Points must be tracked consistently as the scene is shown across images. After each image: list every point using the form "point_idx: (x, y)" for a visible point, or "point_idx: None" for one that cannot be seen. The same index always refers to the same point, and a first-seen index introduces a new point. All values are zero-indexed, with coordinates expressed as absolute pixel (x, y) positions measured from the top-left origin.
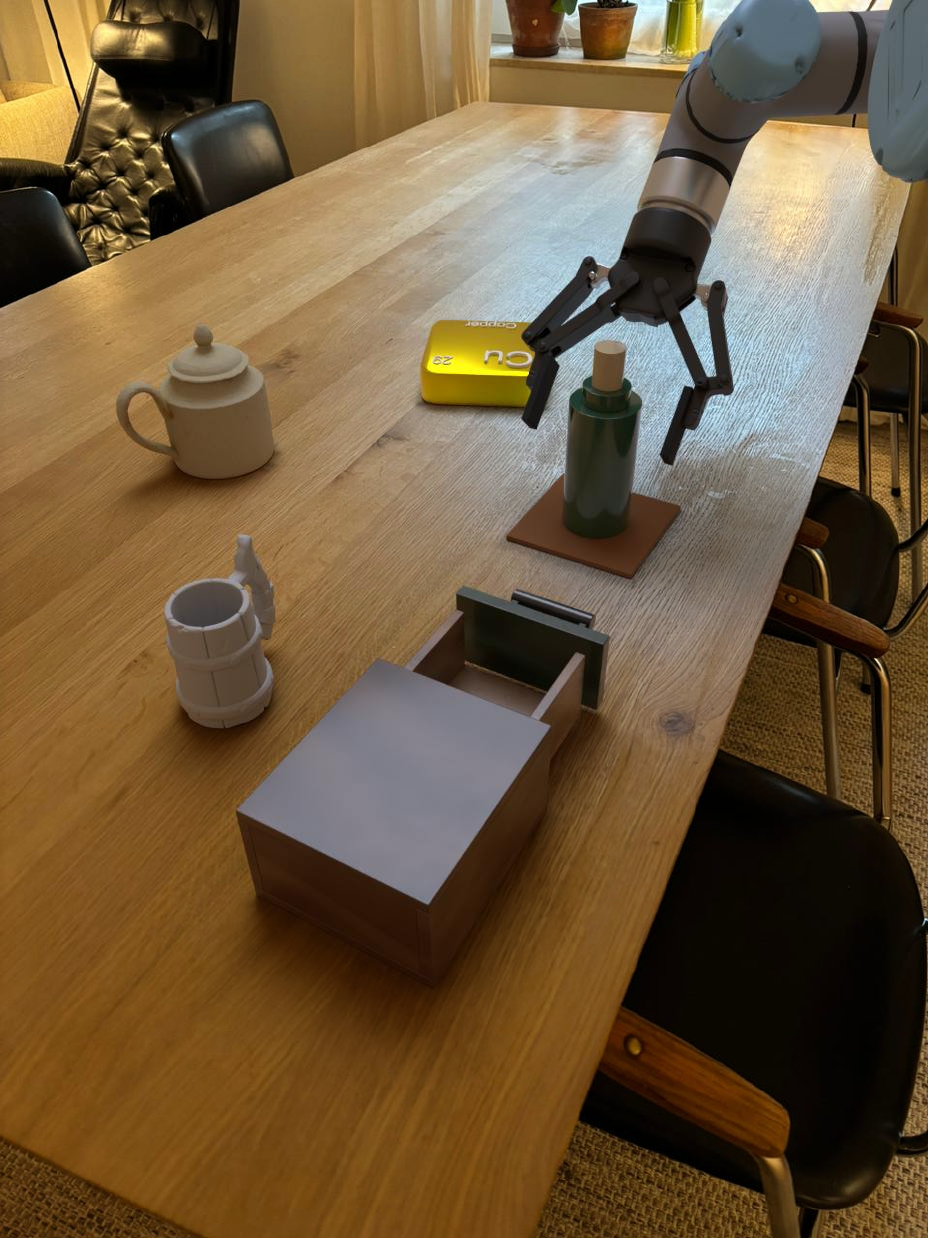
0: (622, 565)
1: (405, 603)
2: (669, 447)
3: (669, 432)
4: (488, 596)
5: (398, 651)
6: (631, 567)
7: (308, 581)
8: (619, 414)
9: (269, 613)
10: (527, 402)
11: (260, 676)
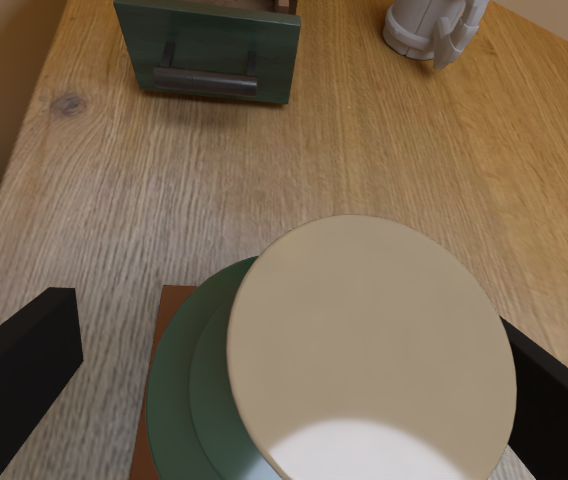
0: (180, 298)
1: (379, 153)
2: (36, 301)
3: (25, 328)
4: (265, 17)
5: (342, 104)
6: (166, 300)
7: (476, 148)
8: (210, 301)
9: (445, 40)
10: (515, 328)
11: (397, 8)
